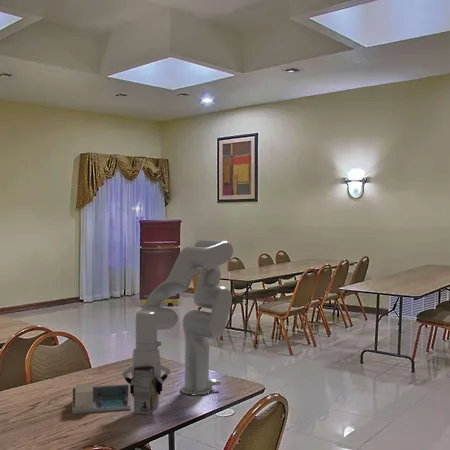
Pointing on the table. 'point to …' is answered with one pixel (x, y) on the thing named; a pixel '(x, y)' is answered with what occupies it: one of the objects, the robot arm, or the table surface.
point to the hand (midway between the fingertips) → (146, 394)
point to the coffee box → (145, 390)
